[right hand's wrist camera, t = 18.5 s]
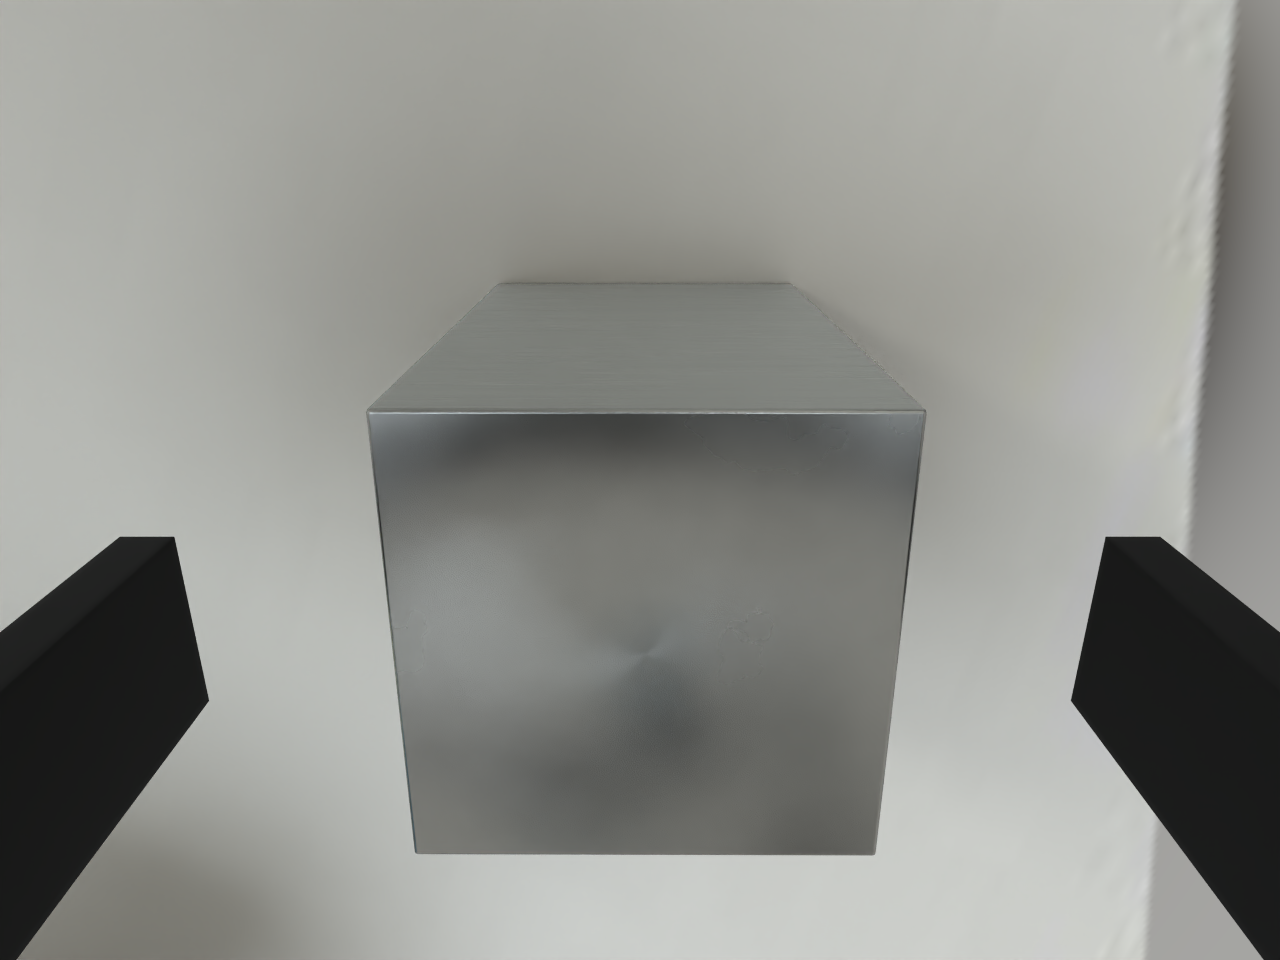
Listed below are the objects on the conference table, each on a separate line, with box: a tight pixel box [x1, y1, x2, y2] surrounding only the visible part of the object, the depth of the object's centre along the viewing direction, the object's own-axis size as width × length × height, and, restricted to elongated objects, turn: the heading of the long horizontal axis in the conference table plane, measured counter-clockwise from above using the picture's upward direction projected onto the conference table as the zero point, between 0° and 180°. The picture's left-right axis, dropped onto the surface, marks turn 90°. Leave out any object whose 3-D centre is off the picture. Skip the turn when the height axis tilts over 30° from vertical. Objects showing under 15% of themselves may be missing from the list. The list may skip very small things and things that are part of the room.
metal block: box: [366, 284, 926, 855], centre depth 18 cm, size 7×7×11 cm
